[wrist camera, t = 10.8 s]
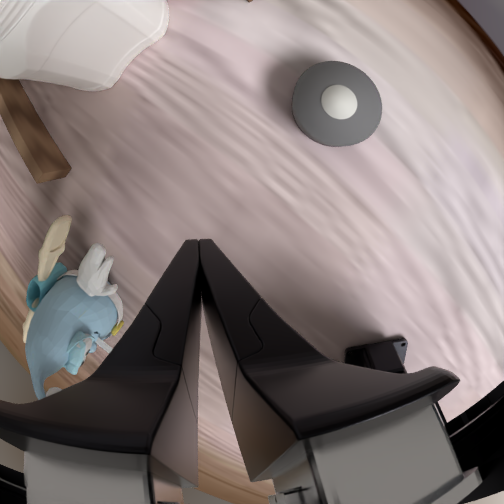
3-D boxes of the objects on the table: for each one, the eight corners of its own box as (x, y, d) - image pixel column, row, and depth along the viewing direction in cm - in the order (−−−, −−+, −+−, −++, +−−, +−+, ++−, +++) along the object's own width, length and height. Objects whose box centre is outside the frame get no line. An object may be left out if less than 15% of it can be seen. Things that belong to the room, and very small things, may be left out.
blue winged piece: (116, 365, 29) (55, 459, 15) (51, 309, 27) (-27, 382, 13) (185, 269, 24) (92, 402, 10) (96, 195, 22) (-44, 253, 8)
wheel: (375, 144, 19) (388, 144, 16) (298, 150, 20) (301, 149, 17) (363, 70, 17) (373, 60, 14) (285, 73, 18) (286, 63, 15)
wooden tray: (261, -5, 15) (257, -30, 11) (65, 177, 22) (36, 183, 18) (152, -71, 11) (139, -89, 8) (8, 77, 18) (-16, 75, 14)
